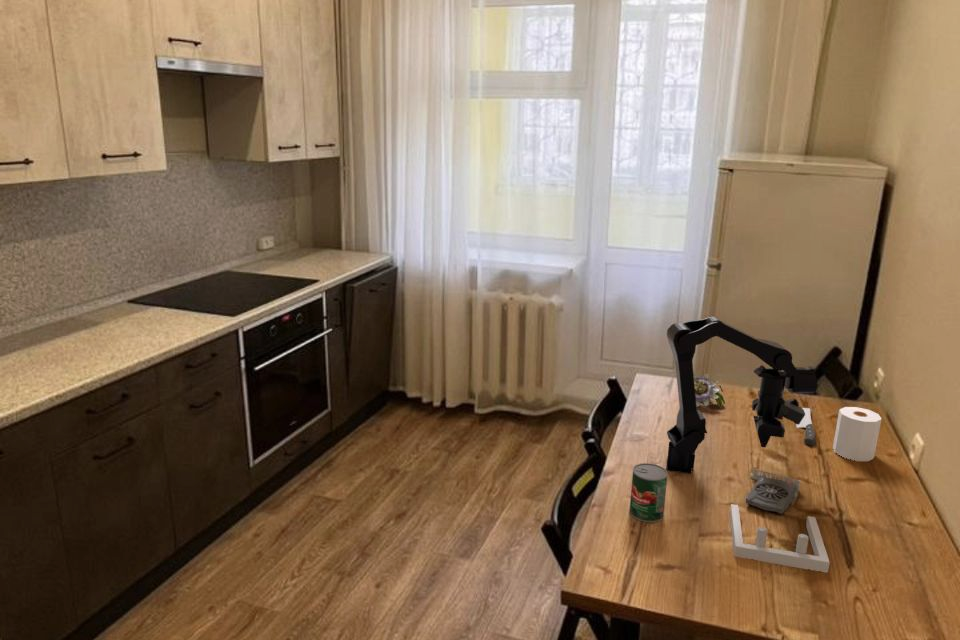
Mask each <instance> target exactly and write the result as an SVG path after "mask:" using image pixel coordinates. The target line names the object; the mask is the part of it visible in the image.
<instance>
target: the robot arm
mask: <svg viewBox="0 0 960 640" xmlns="http://www.w3.org/2000/svg"><path fill="white" fill-rule="evenodd" d="M715 337H718V338H720V339H722V340H725V341H726V342H729V343H731V344H733V345H734V346H736V347H739V348H740V349H743V350H745V351H747V352H750V353H751V354H753V355H754V356H756V357H757V358H758V359H760V360H761V361H762V362H764V363H765V364H766V365H768V366H769V367H771V368H768V367H765V365H762V364H761V365H760V366H759V367H757V368H755V369H754V370H753V373H754V374H755V375H756V376H757V377H758V378H761V379H760V383H759V384H760V386H759V390H758V391H757V396H758V397H757V398H754V399H753V400H752V402H751V410H752V411H754V412H756V415H754V416H753V422H754V424H755V429H756V433H757V436H758V440H759V443H760V444H759V445H760V447H761V448H766V447H767V446H768V443H769V442H770V439H771V438H772V437H776V438H784V437H785V432H786V429H785V425H784V424H783V423H782V422H781V420H784V418H785V419H787V420H788V421H790V422H794V424H795V425H796V424H798V425H799V424H800V422H801V421H802V419H803V418H804V416H805V412H804V410H803V409H802V408H803V407H802V406H800V404H799V403H800V402H799V400H798V399H797V398H794V397H792V398H790V399H788V400H785V399H784V392H785V389H786V390H787V391H788V393H790V394H815V393H816V392H817V389H818V385H819V384H818V383H819V382H818V378H817V376H816V368H814V367H812V366H804V367H802V366H801V367H800V366H795V364H794V363H793V354H792V353H791V352H790V351H789V350H788V349H787V348H785V347H784V346H782V344H780V343H778V342H775V341H772V340H768V339H762V338H757V337H755V336H753V335H751V334H749V333H747V332H745V331H743V330H741V329H739V328H737V327H735V326H732V325H730V324H729V323H726V322H725V321H722V320H720V319H719V318H717V317H716V316H709V317H705V318H702V319H694V320H688V321H686V322H674V323H673V324H672V325H670V326H669V327H668V328H667V330H666V338H667V340H668V344H669V347H670V350H671V352H672V354H673V357H674V364H675V374H676V383H677V393H678V402H679V408H678V409H679V410H678V412H677V416H676V424H675V425H673V426H672V427H671V428H670V429H669V430H667V432H666V435H667V438H668V440H669V441H668V450H667V458H666V464H665V465H666V466H665V470H666V471H669V472H670V471H671V472H676V473H677V472H678V473H683V474H692V473H693V471H692V470H694V468H695V461H696V460H695V459H696V450H697V449H698V447H699V445H700V444H701V443H702V442H703V441H704V440H705V438H706V434H708V431H707V429H706V425H707V422H706V421H707V419H706V418H705V416H704V415H703V413H702V412H701V411H700V410H699V409H698V407H697V406H696V395H695V384H694V377H695V375H694V366H693V361H694V360H693V359H694V356H695V354H696V350H697V349H696V347H697V346H698V345H702V344H704V343H706V342H707V341H709V340H710V339H712V338H715Z"/></svg>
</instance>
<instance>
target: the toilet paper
mask: <svg viewBox="0 0 960 640" xmlns="http://www.w3.org/2000/svg"><path fill="white" fill-rule="evenodd" d="M837 416H838V417H837V422H836V428H835V432H834V433H835V434H834V439H833V443H832V444H833V445H832V450H833V449H834V450H833V453H835V454H836V453H837V454H836V455H837V456H839V455H840V456H839V457H841V456H842V457H841V458H843V457H844V458H843V459H846V458H847V459H846V460H850V459H851V460H850V461H854V460H855V461H854V462H871V460H873V459H874V458H875V455H876V449H877V444H878V439H879V433H880V429H881V425H882V417H881V416H880V414H879V413H877V412H875V411H872V410H871V409H868V408H861V407H858V406H844V407H841V408H840V409H839V411H838V415H837Z"/></svg>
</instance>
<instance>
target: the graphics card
mask: <svg viewBox="0 0 960 640" xmlns="http://www.w3.org/2000/svg"><path fill="white" fill-rule="evenodd" d="M750 473H751V475H750V477H749V478H750V479H752V480H756V482H755V484H754V485H753V486H752V488H751V490H750V491H749V493H748V495H747V496H746V499H745V504H747V505H751V506H754V507H757V508H759V509H761V510H765V511H769V512H770V513H772V514H774V512H776V513H777V514H784V512H785V511H787V509H788V508H789V506H790V504H791V506H793V505H794V504H795V502H796V500H797V498H798V496H799V494H800V492H799V491H800V485H801V480H798V479H795V478H792V477H788V476H783V475H780V474H777V473H772V472H769V471H765V470H761V469H757V468H754V469H750ZM752 474H753V475H752ZM766 474H767V475H766ZM770 475H771V476H770ZM771 477H772V478H771Z"/></svg>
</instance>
